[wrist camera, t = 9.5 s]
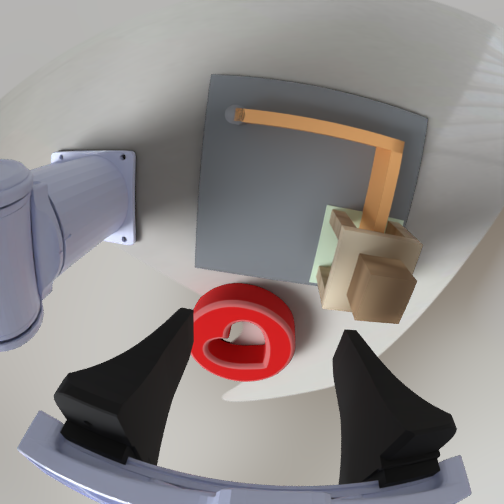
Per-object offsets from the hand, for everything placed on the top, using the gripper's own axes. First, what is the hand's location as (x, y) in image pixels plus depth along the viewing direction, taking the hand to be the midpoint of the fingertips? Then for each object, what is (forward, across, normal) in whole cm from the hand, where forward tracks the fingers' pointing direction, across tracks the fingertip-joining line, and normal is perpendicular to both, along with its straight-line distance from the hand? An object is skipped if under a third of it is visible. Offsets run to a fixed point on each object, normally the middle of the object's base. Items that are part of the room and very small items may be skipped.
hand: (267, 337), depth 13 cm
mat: (+10, -2, -5) cm, 12 cm away
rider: (+10, -7, -1) cm, 12 cm away
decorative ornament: (+11, +2, +8) cm, 14 cm away
